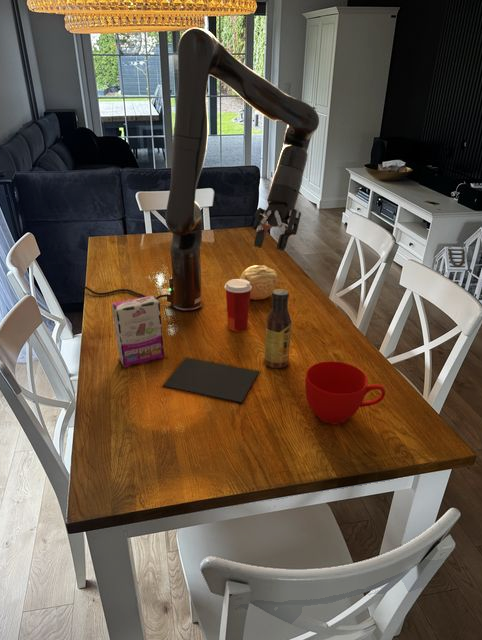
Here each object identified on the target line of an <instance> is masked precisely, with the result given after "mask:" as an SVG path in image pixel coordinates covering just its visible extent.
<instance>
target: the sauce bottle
mask: <svg viewBox="0 0 482 640" xmlns="http://www.w3.org/2000/svg"><path fill="white" fill-rule="evenodd" d="M271 298H272V304H271V310H270V311H269V312H268V314H267V318H266V326H265V340H264V341H265V342H264V343H265V344H264V363H265V365H266V366H267V367H270V368H272V369H283V368H285V367H286V366H287V365H288V363H289V358H290V346H291V332H292V319H291V316H290V313H289V309H288V303H289V301H288V300H289V298H290V292H289V291H288V290H286V289H283V288H278V289H274V290H273V291H272V293H271Z"/></svg>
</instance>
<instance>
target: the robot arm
mask: <svg viewBox="0 0 482 640" xmlns="http://www.w3.org/2000/svg"><path fill="white" fill-rule="evenodd" d="M177 75H178V76H177V79H178V80H177V81H178V82H177V85H178V86H177V88H178V89H177V97H176V106H175V113H174V114H175V116H174V123H173V124H174V126H173V133H172V136H173V137H172V146H171V147H172V150H171V165H170V167H171V169H170V186H169V193H168V199H167V204H166V209H165V215H164V216H165V217H164V218H165V225H166V228H167V230H169V232H170V233H171V234H172V236H171V237H172V238H171V242H170V245H169V254H170V255H169V256H170V272H171V273H170V274H171V277H170V278H169V279H168V282H169V288H168V291H169V292H168V293H166V294H160V295H158V296H155V298H156V299H157V300H159V299H161V298H166V302H168V303H170V307H171V308H174V309H175V310H177V311H182V312H192V311H197V310H199V309H201V308H202V306H203V296H202V262H201V261H202V259H201V247H202V243H203V214H202V210H201V207H200V205H199V204H198V203H197V202H196V192H197V187H198V184H199V179H200V176H201V173H202V170H203V167H204V164H205V159H206V154H207V148H208V147H207V146H208V137H209V119H208V118H209V117H208V109H207V92H208V91H207V89H208V82H209V77H210V76H212V77H214V78H215V79H217V80H219V81H221V82H222V83H224V84H225V85H226V86H227V87H229V88H230V89H232V91H234V92H235V94H237V95H238V96H239V97H240V98H241V99H242V100H243V101H245V102H246V103H247V104H248V105H249V106H251V107H252V108H253V109H254V110H256V111H257V112H259V113H260V114H261V115H263V116H264V117H265V118H267V119H269V120H270V121H273V122H276V121H281V122H283V123H284V124H286V125H287V126H286V130H285V134H284V140H283V144H282V145H283V146H282V150H281V152H280V156H279V159H278V163H277V166H276V170H275V171H274V174H273V177H272V179H271V180H272V181H271V185H270V188H269V191H268V195H267V199H266V201H267V204H268V205H267V207H266V208H265V209H264V208H262V207H258V209H257V211H256V214H255V218H254V220H253V224H252V228H251V229H252V230H254V231H256V234H255V238H254V241H253V243H254V245H253V246H254V247H256V248H259V249H261V248H262V247H263V243H264V240H265V237H266V235H265V234H266V233H267V232H268V231H269V230H271V229H272V228H273V227H274V228H276V227H278V228H279V229H280V233H281V234H279V237H278V241H277V245H276V250H278V251H280V252H283V251H285V250H286V247H287V245H288V241H289V238H290V237H291V236H296V235H297V232H298V229H299V225H300V221H301V216H302V212H301V211H299V210H297V209H295V208H296V204H297V201H298V198H299V194H300V191H301V187H302V182H303V176H304V173H305V169H306V165H307V162H308V156H309V155H308V149H309V145H310V142H311V139H312V136H313V135H314V133H315V132H316V131H317V129H318V128H319V125H320V116H319V114H318V111H316V109H314V107H313V106H312V105H310V104H309V103H307V102H305V101H303V100H301V99H299V98H296V97H294V96H291V95H288V94H286V93H285V91H282V90H281V89H280V88H278V87H277V86H276V85H274V84H273V83H272V82H270V81H269V80H268V79H266V78H264V77H263V76H262V75H260V74H259V73H257V72H256V71H254V70H252V69H251V68H249V67H248V66H247V65H245V64H244V63H242V62H241V61H240V60H239V59H237V58H236V57H235V56H234V55H233V54H232V53H231V52H230V51H228V49H226V48H225V47H224V45H223V44H222V43H221V42H220V41H219V40H218V39H217V38H216V37H215V35H214V34H213V33H212V32H211V31H209V30H207V29H203V28H199V27H192V28H189V29H187V30H186V31H185V32H184V33H183V34H182V35H181V37H180V39H179V41H178V45H177ZM84 289H86V290H88V291H89V292H90V293H91V294H93V295H96V296H105V295H112V294H114V293H119V292H129V293H132V294H134V295H136V296H140V297H141V298H142V297H147V295H145V294H143V293H139V292H137V291H135V290H133V289H129V288H117V289H114V290H110V291H105V292H97V291H95V290H93V289H91V288H90V287H88V286H85V285H84V286H81V288H80V289H79V290H80V291H84Z"/></svg>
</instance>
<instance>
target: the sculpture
mask: <svg viewBox="0 0 482 640" xmlns="http://www.w3.org/2000/svg"><path fill="white" fill-rule="evenodd" d="M239 279H244V280H247V281H249V282H250V285H251V287H252V289H251V291H250V300H254V301H260V300H261V301H262V300H265V299H267V298H269V296H271V295H272V292H273V291H274V290H275V288H276V287H277V284H278V283H277V281H278V275H277V271H276V270H275V269H272V268H270V267H268V266H267V265H265V264H263V265H251V266H249V267H247V268H245V270H244V271H243V272H242V273H241V275H240V277H239Z"/></svg>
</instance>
